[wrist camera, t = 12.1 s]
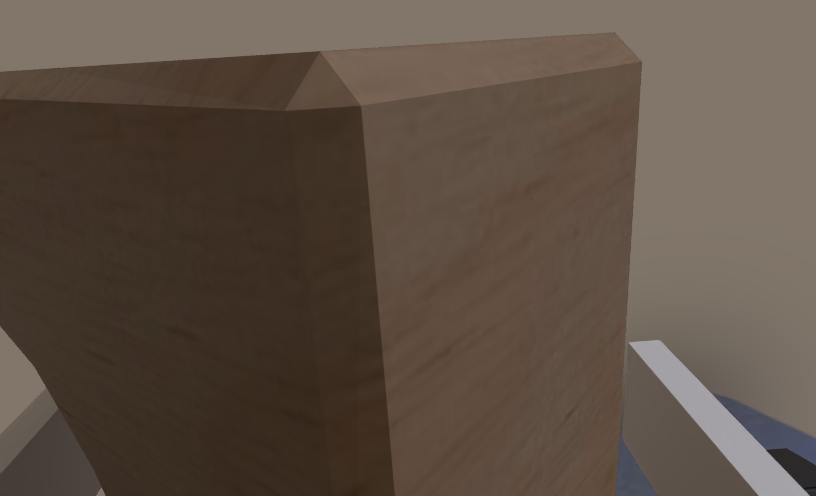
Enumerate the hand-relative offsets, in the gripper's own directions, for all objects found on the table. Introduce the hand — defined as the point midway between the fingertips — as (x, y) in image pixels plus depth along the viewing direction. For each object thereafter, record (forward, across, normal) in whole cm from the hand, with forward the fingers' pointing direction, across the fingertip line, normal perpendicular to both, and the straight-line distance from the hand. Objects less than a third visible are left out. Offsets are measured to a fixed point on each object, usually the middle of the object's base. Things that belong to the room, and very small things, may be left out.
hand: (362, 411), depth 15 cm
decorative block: (-3, -1, -12) cm, 12 cm away
